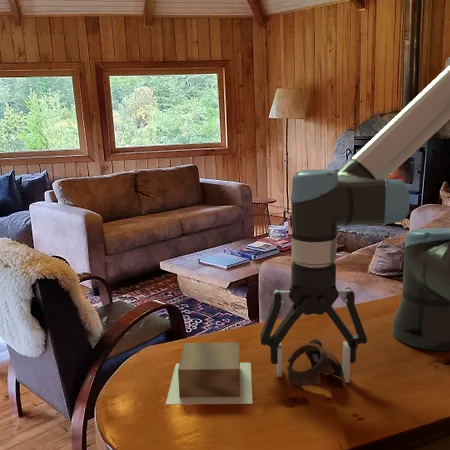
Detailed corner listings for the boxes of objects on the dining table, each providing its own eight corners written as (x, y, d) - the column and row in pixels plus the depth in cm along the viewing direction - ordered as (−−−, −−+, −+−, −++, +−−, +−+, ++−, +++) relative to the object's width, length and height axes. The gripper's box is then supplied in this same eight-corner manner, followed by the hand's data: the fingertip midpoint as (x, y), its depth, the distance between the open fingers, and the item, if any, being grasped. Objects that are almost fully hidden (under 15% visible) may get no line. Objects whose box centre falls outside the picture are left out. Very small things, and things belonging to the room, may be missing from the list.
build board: (250, 369, 98) (250, 362, 98) (252, 411, 84) (252, 403, 84) (176, 370, 98) (176, 363, 98) (166, 412, 85) (165, 404, 84)
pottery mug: (353, 399, 88) (333, 366, 85) (302, 417, 90) (281, 386, 87) (343, 351, 99) (324, 320, 96) (297, 369, 101) (278, 339, 98)
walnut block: (239, 367, 96) (239, 342, 95) (239, 396, 86) (239, 368, 85) (185, 368, 96) (184, 343, 95) (179, 397, 86) (177, 369, 85)
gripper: (377, 254, 92) (373, 368, 97) (244, 256, 93) (246, 369, 98) (389, 266, 85) (384, 389, 90) (244, 269, 86) (247, 390, 90)
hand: (312, 379), depth 94 cm, fingers open, 11 cm apart
